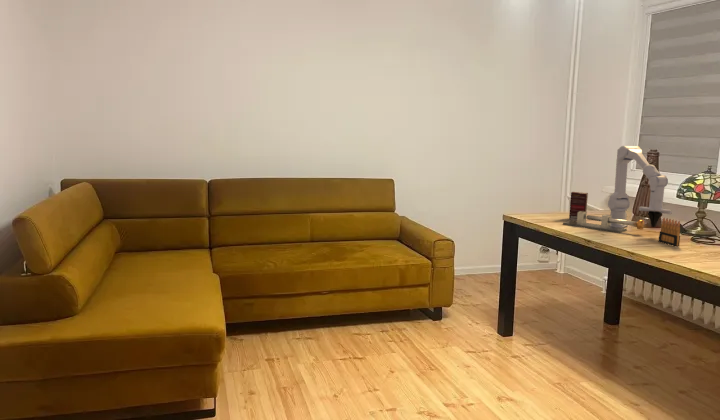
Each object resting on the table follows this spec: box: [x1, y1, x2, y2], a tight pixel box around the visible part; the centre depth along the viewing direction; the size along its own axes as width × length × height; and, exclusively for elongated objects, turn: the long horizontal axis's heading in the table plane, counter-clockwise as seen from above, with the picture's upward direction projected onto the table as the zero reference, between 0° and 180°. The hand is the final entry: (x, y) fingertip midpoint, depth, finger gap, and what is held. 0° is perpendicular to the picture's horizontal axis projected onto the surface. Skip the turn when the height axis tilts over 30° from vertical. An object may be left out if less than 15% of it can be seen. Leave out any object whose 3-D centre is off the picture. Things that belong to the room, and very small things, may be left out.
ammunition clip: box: [658, 217, 681, 247], centre depth 258 cm, size 11×2×12 cm, turn 15°
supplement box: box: [568, 191, 589, 221], centre depth 317 cm, size 9×5×16 cm, turn 58°
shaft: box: [586, 214, 645, 231], centre depth 288 cm, size 5×28×5 cm, turn 46°
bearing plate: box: [562, 211, 628, 234], centre depth 295 cm, size 10×30×8 cm, turn 46°
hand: (653, 226), depth 275 cm, fingers closed
